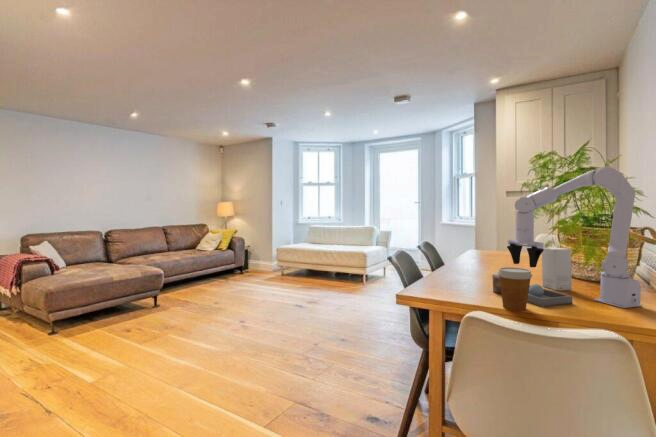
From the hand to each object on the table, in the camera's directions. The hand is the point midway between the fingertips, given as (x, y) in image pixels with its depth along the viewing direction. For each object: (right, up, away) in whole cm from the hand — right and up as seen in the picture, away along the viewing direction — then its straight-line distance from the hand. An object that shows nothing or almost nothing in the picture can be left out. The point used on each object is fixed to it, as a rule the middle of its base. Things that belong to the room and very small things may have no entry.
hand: (524, 265), depth 128 cm
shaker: (-11, -10, -3) cm, 14 cm away
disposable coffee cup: (-16, -11, -22) cm, 29 cm away
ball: (-3, -9, -12) cm, 15 cm away
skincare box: (+14, -9, +3) cm, 17 cm away
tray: (-3, -10, -12) cm, 16 cm away
